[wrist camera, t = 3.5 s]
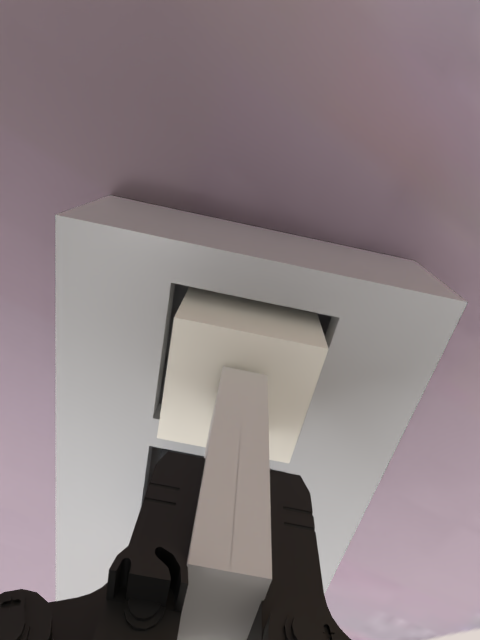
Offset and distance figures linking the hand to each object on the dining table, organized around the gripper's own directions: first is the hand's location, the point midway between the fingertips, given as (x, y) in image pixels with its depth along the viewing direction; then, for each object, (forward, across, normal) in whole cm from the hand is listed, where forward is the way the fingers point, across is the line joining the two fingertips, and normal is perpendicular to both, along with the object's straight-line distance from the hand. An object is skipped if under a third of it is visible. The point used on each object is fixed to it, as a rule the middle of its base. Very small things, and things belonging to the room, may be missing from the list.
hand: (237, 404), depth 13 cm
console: (+7, 0, -7) cm, 10 cm away
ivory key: (+2, 0, 0) cm, 2 cm away
